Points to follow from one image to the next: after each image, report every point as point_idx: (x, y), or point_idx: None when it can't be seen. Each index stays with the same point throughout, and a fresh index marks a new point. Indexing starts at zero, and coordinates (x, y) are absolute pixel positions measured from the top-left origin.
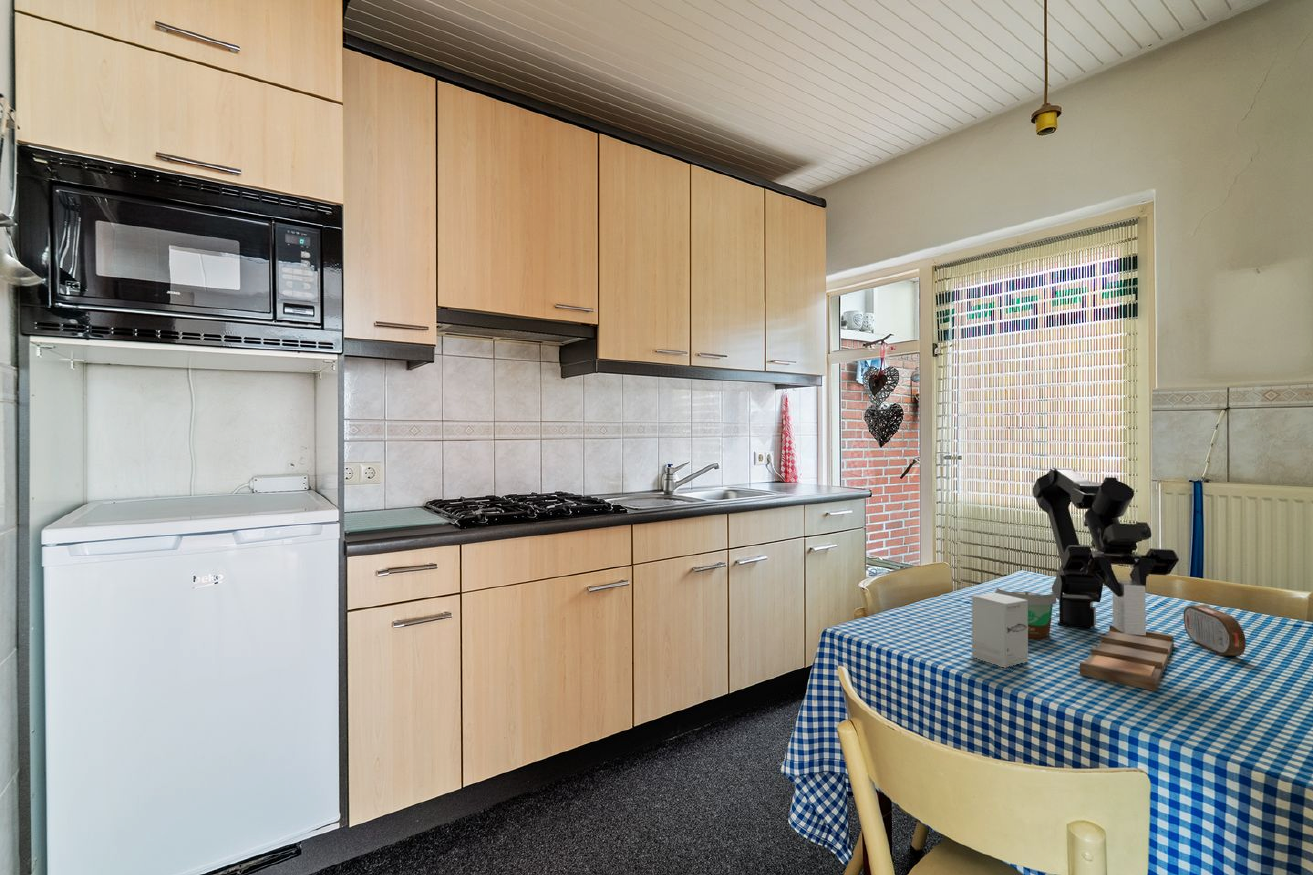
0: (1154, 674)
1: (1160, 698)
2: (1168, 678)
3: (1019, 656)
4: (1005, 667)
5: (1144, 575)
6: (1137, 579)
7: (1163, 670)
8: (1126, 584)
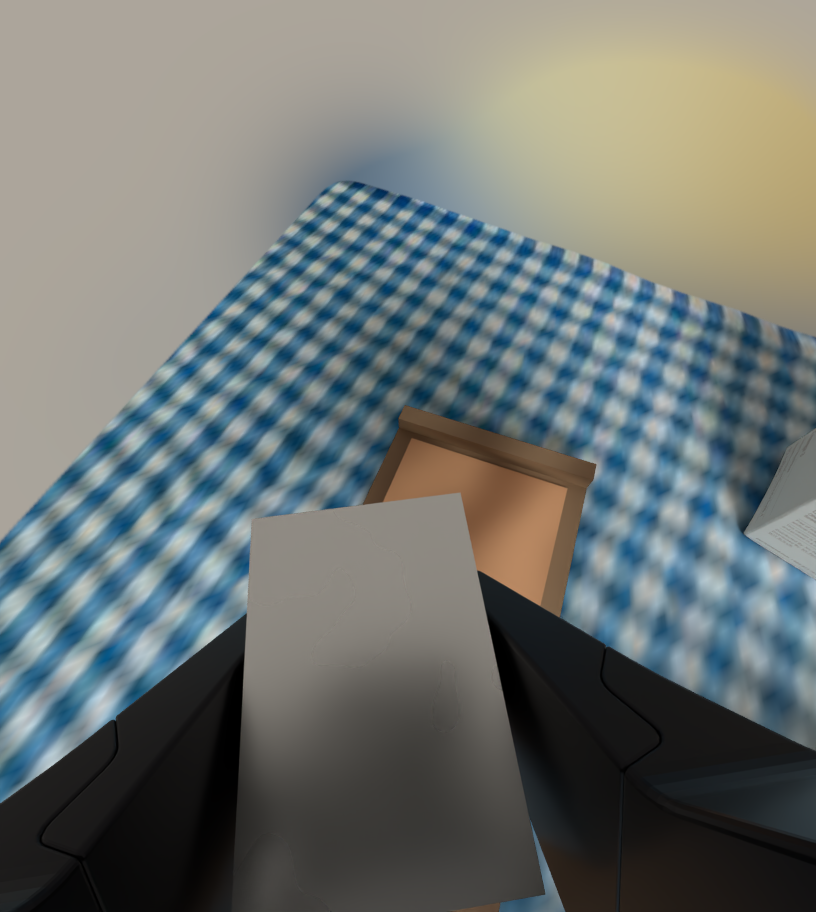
0: (377, 502)
1: (410, 384)
2: None
3: (780, 485)
4: (787, 448)
5: (70, 773)
6: (197, 823)
7: None
8: (430, 525)
